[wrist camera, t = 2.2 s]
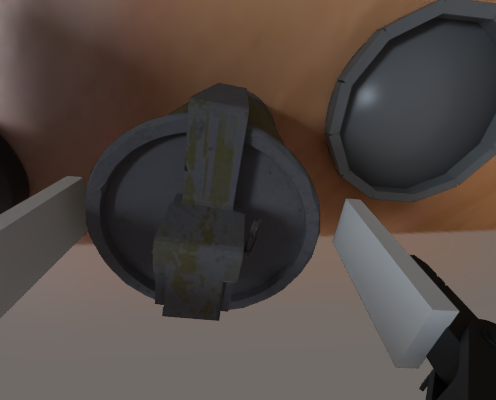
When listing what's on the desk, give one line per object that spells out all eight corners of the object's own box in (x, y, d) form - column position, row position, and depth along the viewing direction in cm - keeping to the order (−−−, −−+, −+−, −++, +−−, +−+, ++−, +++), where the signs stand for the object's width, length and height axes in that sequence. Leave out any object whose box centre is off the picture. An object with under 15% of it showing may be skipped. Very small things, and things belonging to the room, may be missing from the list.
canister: (265, 189, 29) (297, 372, 12) (176, 176, 28) (64, 353, 11) (287, 92, 24) (404, 149, 7) (181, 71, 23) (-17, 74, 6)
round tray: (309, 186, 29) (314, 194, 27) (354, -6, 21) (364, -14, 19) (453, 198, 30) (467, 206, 28) (550, 18, 22) (579, 13, 20)
